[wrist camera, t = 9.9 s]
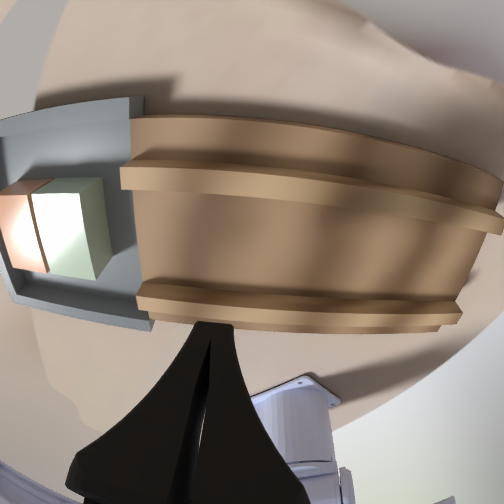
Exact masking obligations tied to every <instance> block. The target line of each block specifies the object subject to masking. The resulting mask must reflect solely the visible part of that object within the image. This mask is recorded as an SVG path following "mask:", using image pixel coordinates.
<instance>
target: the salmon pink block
mask: <svg viewBox="0 0 504 504" xmlns="http://www.w3.org/2000/svg"><path fill="white" fill-rule="evenodd" d="M51 181H52V179H40V180H22V181H16V182H14V183H13V184H11V185H9V186H8V187H6V188H5V189H3V190H1V191H0V228H1V232H2V235H3V239H4V242H5V245H6V248H7V252H8V255H9V258H10V261H11V264H12V266H13V268H18V269H24V270H29V271H35V272H40V273H46V274H47V273H48V272H49V271H50V268H49V265H48V262H47V258H46V255H45V251H44V248H43V244H42V240H41V237H40V233H39V228H38V224H37V220H36V215H35V211H34V206H33V201H32V195H31V194H32V193H34V192H35V191H37V190H38V189H40V188H41V187H43V186H44V185H46V184H48V183H49V182H51Z"/></svg>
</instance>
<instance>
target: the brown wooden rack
mask: <svg viewBox="0 0 504 504" xmlns="http://www.w3.org/2000/svg"><path fill="white" fill-rule="evenodd" d="M130 138H131V160H130V161H128V162H127V163H125V164H124V165H122V166H121V167H120V180H121V190H133V202H134V214H135V224H136V234H137V243H138V251H139V258H140V266H141V273H142V279H143V282H142V284H141V286H140V288H139V290H138V293H137V295H136V299H137V304H138V309H139V310H143V311H148V314H149V319H153V320H160V321H167V322H175V323H183V324H192V325H195V323H196V322H197V321H205V322H215V323H226V324H232V325H233V326H234V329H244V330H258V331H273V332H292V333H319V334H397V333H423V332H437V331H438V330H439V328H440V327H441V325H453V324H457V322H458V321H459V319H460V317H461V316H462V314H463V312H462V311H461V309H460V308H459V306H458V305H457V303H456V302H455V300H456V299H457V297H458V295H459V293H460V291H461V289H462V287H463V285H464V283H465V281H466V279H467V277H468V275H469V273H470V271H471V269H472V267H473V264H474V262H475V260H476V258H477V255H478V253H479V251H480V248H481V246H482V244H483V241H484V239H485V236H486V234H487V232H488V233H493V234H497V235H502V232H503V229H504V217H502V216H501V215H500V214H499V213H497V212H496V211H495V209H496V206H497V203H498V200H499V197H500V194H501V190H502V187H503V184H504V181H502V180H500V179H499V178H497V177H495V176H494V175H492V174H490V173H488V172H486V171H483V170H481V169H478V168H476V167H473V166H470V165H468V164H465V163H462V162H459V161H456V160H454V159H451V158H448V157H445V156H442V155H438V154H435V153H432V152H429V151H426V150H422V149H419V148H415V147H412V146H408V145H405V144H401V143H397V142H393V141H389V140H385V139H381V138H377V137H373V136H368V135H364V134H359V133H354V132H349V131H344V130H339V129H333V128H328V127H322V126H316V125H309V124H302V123H295V122H287V121H279V120H270V119H260V118H249V117H236V116H219V115H186V114H167V115H142V116H139V117H135V118H132V119H130Z"/></svg>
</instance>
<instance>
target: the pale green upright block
mask: <svg viewBox="0 0 504 504" xmlns="http://www.w3.org/2000/svg"><path fill="white" fill-rule="evenodd" d="M31 195H32V201H33V206H34V211H35V215H36V220H37V224H38V228H39V233H40V237H41V240H42V244H43V248H44V251H45V255H46V258H47V262H48V265H49V268H50V271H51V274H56V275H62V276H68V277H74V278H81V279H88V280H95V281H96V280H97V279H98V277H99V276H100V274H101V273H102V271H103V270H104V268H105V267H106V266H107V264H108V263H109V261H110V260H111V258H112V257H113V253H112V248H111V242H110V235H109V229H108V222H107V215H106V207H105V199H104V190H103V179H102V177H74V178H56V179H54V180H52V181H51V182H49V183H48V184H46V185H44V186H43V187H41V188H40V189H38V190H37V191H35V192H34V193H32V194H31Z"/></svg>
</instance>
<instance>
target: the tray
mask: <svg viewBox="0 0 504 504" xmlns="http://www.w3.org/2000/svg"><path fill="white" fill-rule="evenodd" d="M142 115H144V96H132V97H120V98H110V99H101V100H93V101H86V102H79V103H73V104H67V105H61V106H56V107H51V108H46V109H41V110H36V111H32V112H28V113H24V114H20V115H16V116H12V117H8V118H5V119H2V120H0V191H1V190H3V189H5V188H6V187H8V186H9V185H11V184H13V183H14V182H16V181H22V180H40V179H52V180H54V179H56V178H74V177H102V179H103V190H104V199H105V207H106V215H107V222H108V229H109V235H110V242H111V248H112V253H113V257H112V258H111V260H110V261H109V263H108V264H107V266H106V267H105V268H104V270H103V271H102V273H101V274H100V276H99V277H98V279H97V280H96V281H95V280H88V279H81V278H74V277H68V276H62V275H56V274H51V271H49V272H48V273H47V274H46V273H40V272H35V271H29V270H24V269H18V268H13V266H12V264H11V261H10V258H9V255H8V252H7V248H6V245H5V242H4V239H3V235H2V232H1V228H0V272H1V274H2V277H3V280H4V282H5V285H6V287H7V289H8V292H9V294H10V296H11V299H12V301H13V302H14V303H18V304H21V305H26V306H29V307H32V308H36V309H40V310H44V311H48V312H52V313H56V314H60V315H65V316H69V317H73V318H78V319H83V320H87V321H92V322H97V323H102V324H108V325H113V326H118V327H124V328H130V329H136V330H142V331H149V332H151V330H152V327H153V325H154V322H155V320H153V319H149V314H148V311H143V310H139V309H138V304H137V299H136V295H137V293H138V290H139V288H140V286H141V284H142V282H143V279H142V273H141V266H140V258H139V251H138V243H137V234H136V224H135V214H134V202H133V190H121V180H120V167H121V166H122V165H124V164H125V163H127V162H128V161H130V160H131V138H130V119H132V118H135V117H139V116H142Z"/></svg>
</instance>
